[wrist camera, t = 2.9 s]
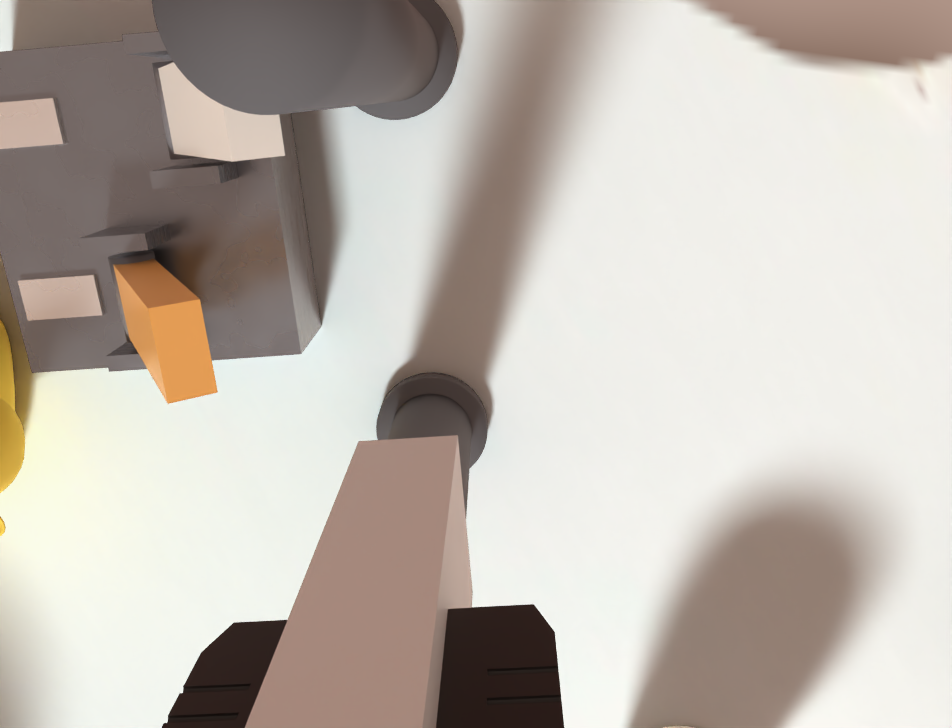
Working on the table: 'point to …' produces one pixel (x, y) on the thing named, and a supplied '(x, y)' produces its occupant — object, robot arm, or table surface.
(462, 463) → the post
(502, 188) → the table surface
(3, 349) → the teapot
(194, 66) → the cable post
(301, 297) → the breaker panel
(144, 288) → the orange paddle
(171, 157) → the ivory paddle
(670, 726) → the cup
